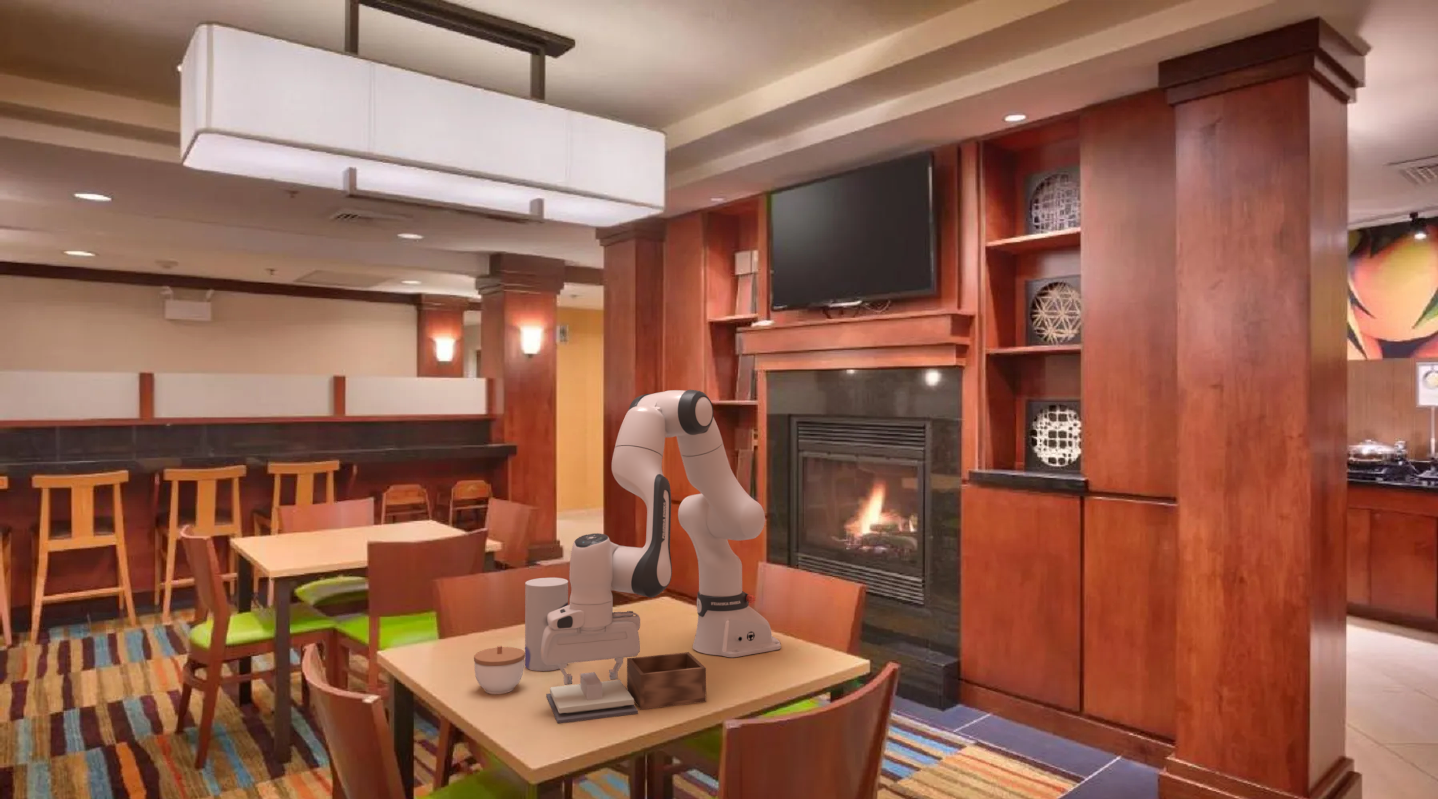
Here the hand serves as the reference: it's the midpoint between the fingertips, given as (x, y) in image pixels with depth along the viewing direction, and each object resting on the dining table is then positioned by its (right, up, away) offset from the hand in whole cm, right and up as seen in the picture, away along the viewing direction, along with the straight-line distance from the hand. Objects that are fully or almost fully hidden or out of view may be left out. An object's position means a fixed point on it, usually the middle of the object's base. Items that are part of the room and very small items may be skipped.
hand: (591, 681), depth 171 cm
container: (-15, -5, +27) cm, 31 cm away
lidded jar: (-21, -5, +9) cm, 24 cm away
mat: (0, -5, 0) cm, 5 cm away
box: (+15, -5, +5) cm, 17 cm away
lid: (0, -4, 0) cm, 4 cm away
